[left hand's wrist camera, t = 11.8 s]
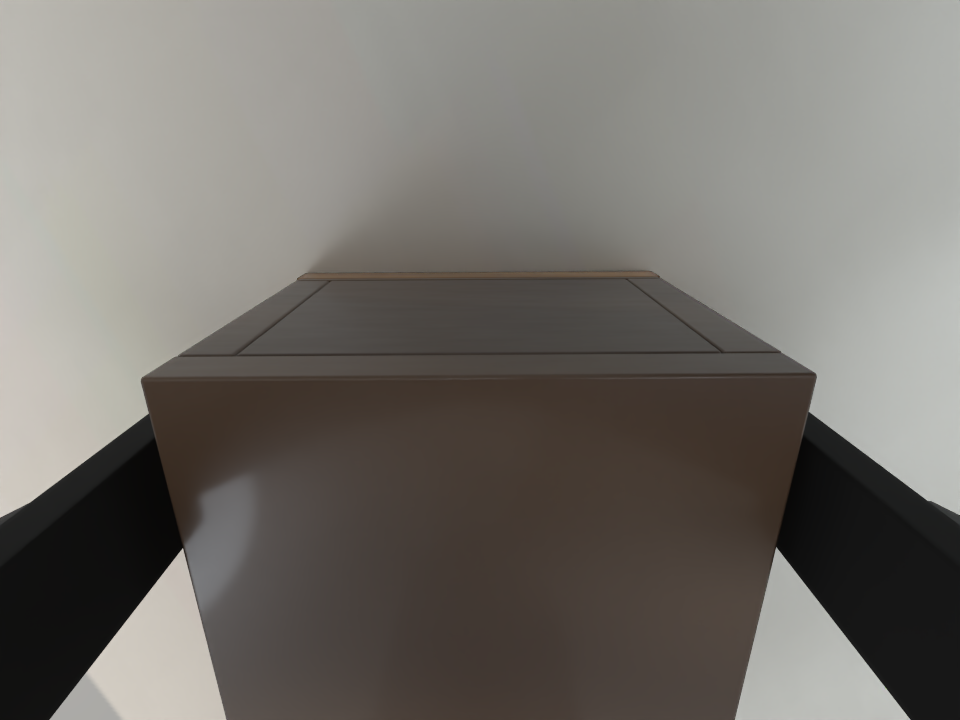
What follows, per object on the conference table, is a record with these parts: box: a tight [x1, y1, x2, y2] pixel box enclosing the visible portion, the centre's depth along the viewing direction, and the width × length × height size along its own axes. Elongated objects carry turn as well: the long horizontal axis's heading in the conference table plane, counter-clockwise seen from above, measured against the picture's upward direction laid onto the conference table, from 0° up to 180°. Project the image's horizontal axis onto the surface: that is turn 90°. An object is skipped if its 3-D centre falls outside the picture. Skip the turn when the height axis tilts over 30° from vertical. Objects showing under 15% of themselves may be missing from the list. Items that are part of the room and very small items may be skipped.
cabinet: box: [141, 271, 817, 720], centre depth 14 cm, size 13×11×8 cm
